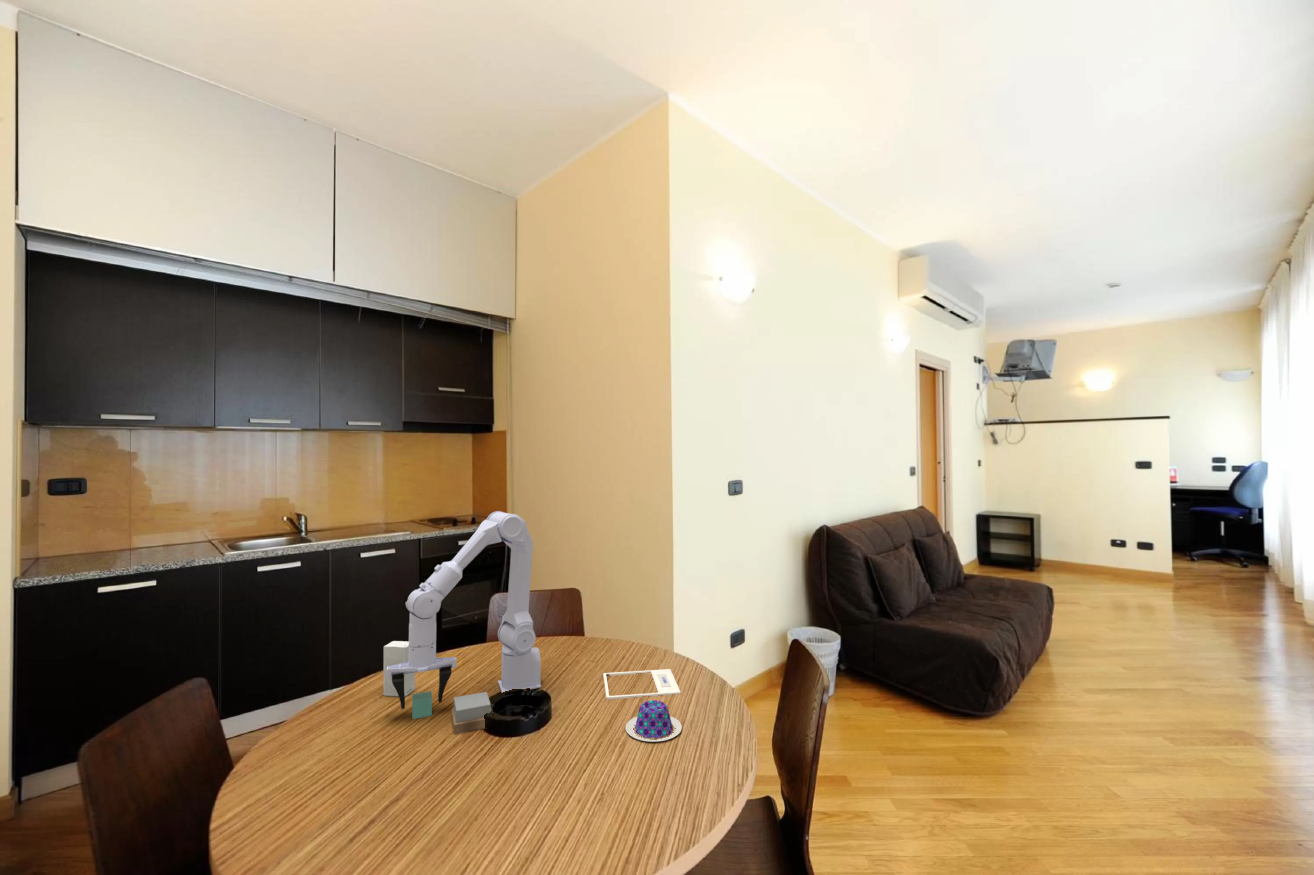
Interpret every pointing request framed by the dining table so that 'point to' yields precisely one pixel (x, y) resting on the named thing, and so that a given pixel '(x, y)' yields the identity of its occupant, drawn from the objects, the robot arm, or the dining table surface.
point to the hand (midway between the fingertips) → (421, 703)
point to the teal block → (421, 705)
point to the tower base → (467, 725)
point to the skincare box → (393, 656)
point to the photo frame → (661, 678)
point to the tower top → (471, 706)
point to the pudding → (653, 722)
